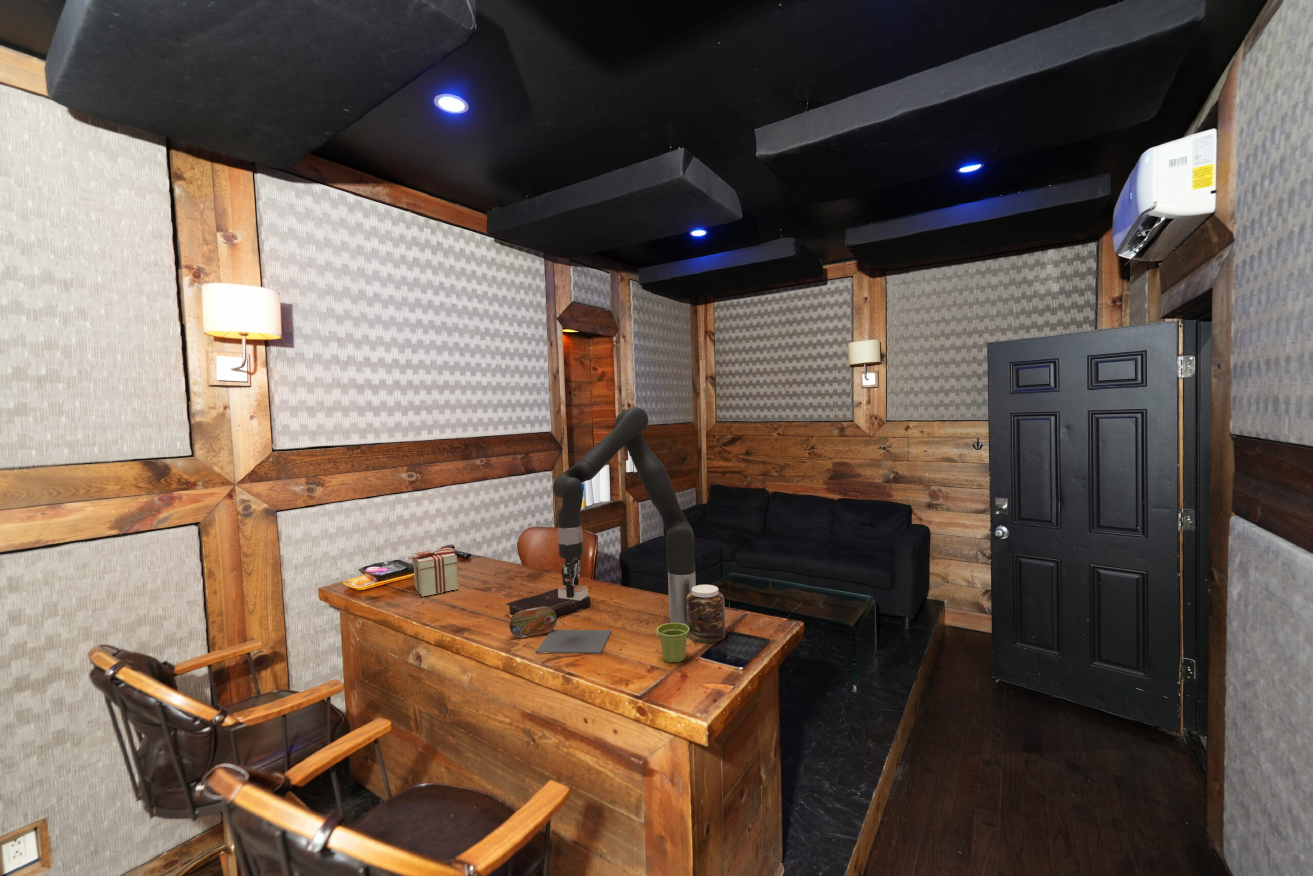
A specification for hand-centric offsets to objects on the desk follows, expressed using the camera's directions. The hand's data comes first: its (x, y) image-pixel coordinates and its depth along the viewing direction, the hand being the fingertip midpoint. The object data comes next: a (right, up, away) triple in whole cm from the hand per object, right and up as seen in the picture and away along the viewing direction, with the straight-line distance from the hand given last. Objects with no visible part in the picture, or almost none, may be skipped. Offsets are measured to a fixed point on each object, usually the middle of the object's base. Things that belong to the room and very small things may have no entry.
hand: (573, 593), depth 165 cm
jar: (+42, -14, +2) cm, 44 cm away
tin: (-14, -16, +7) cm, 22 cm away
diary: (-13, -15, +29) cm, 35 cm away
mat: (+1, -15, +1) cm, 15 cm away
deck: (0, -1, 0) cm, 1 cm away
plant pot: (+31, -15, -13) cm, 37 cm away
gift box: (-68, -16, +59) cm, 92 cm away
